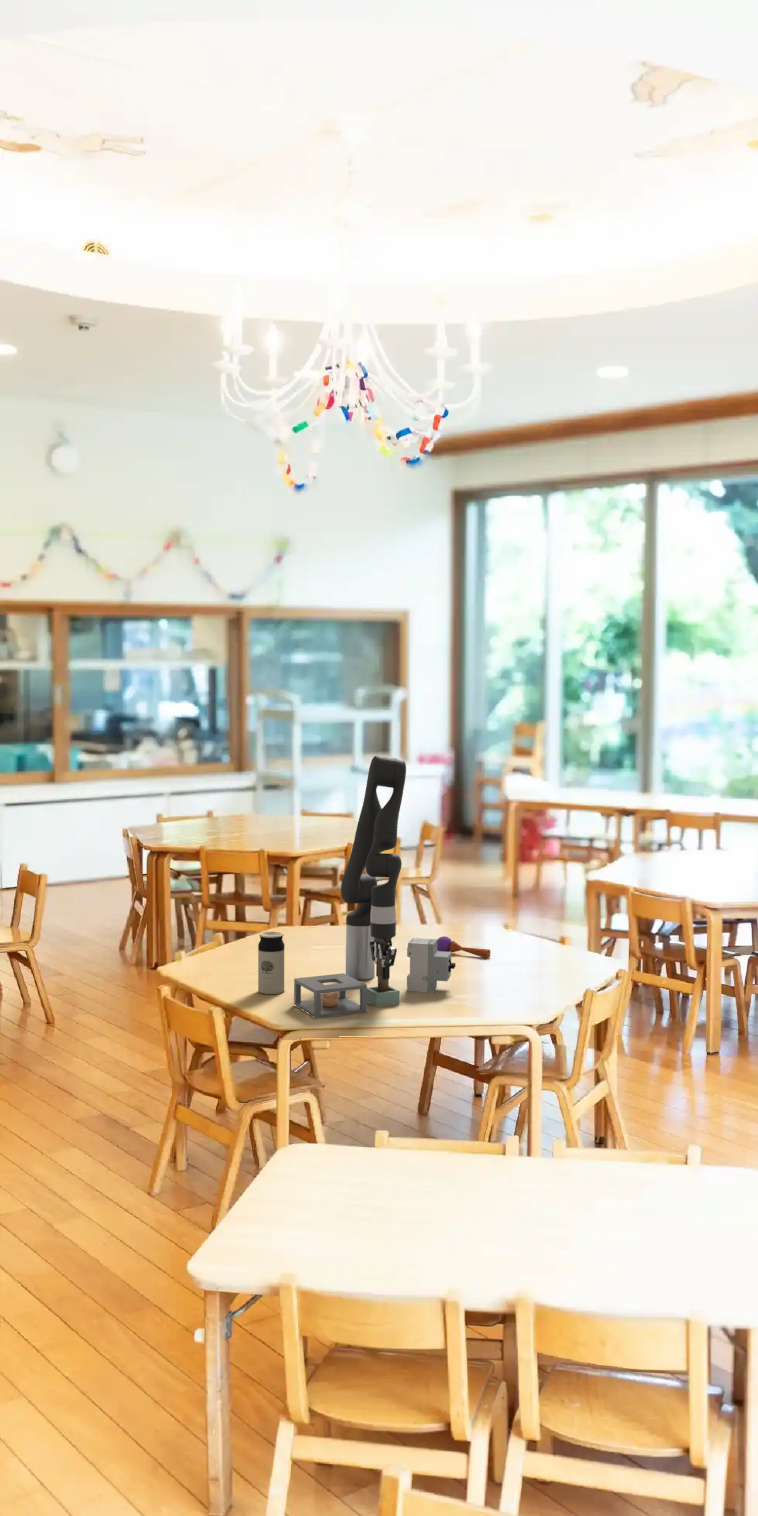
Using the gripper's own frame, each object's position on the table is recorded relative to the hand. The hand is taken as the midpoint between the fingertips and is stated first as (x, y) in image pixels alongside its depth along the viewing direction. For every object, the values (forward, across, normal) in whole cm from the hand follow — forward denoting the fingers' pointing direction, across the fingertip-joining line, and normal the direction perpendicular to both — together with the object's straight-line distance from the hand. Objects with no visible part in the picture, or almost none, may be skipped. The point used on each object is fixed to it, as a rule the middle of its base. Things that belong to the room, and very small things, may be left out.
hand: (382, 977), depth 404 cm
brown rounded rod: (+6, 0, 0) cm, 6 cm away
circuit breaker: (+8, +8, -21) cm, 24 cm away
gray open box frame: (+8, 0, +17) cm, 19 cm away
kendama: (+8, +46, -54) cm, 72 cm away
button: (+6, 0, +17) cm, 18 cm away
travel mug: (+8, +26, +25) cm, 37 cm away
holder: (+8, 0, 0) cm, 8 cm away
